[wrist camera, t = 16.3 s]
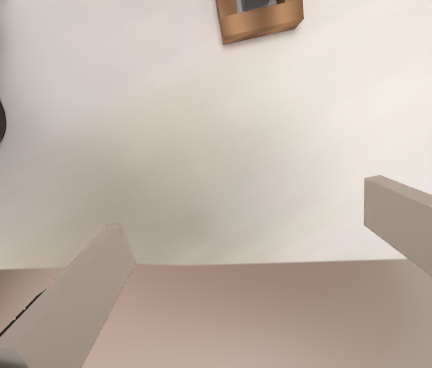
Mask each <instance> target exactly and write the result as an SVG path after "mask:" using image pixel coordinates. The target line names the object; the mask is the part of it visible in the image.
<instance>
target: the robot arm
mask: <svg viewBox="0 0 432 368" xmlns="http://www.w3.org/2000/svg"><path fill="white" fill-rule="evenodd" d="M4 132H5V115H4V111H3V108H2V105H1V103H0V141H1V139H2V137H3V135H4ZM364 225H365V226H366V227H367V228H369V229H370V230H371V231H372V232H374V233H375V234H376V235H378V236H379V237H380V238H382V239H383V240H384V241H386V242H387V243H388V244H390V245H391V246H392V247H393V248H395V249H396V250H397V251H399V252H400V253H401V254H403V255H404V256H405V257H407V258H408V259H409V260H411V261H412V262H413V263H414V264H416V265H417V266H418V267H420V268H421V269H422V270H424V271H425V272H426V273H428V274H429V275H430V276H432V195H430V194H427V193H425V192H422V191H420V190H417V189H414V188H412V187H409V186H407V185H404V184H401V183H399V182H396V181H394V180H391V179H388V178H386V177H383V176H381V175H379V176H373V177H368V178H365V185H364ZM135 265H136V263H135V260H134V257H133V255H132V252H131V249H130V247H129V244H128V241H127V239H126V236H125V233H124V231H123V228H122V225H121V223H118V224H112V225H107V226H106V227H105V228H104V229H103V230H102V231H101V233H100V234H99V235H98V236H97V237H96V238H95V239H94V240H93V241H92V242H91V243H90V244H89V245H88V246H87V247H86V248H85V249H84V250H83V251H82V252H81V253H80V254H79V255H78V257H77V258H76V259H75V260H74V261H73V262H72V263H71V264H70V265H69V266H68V267H67V268H66V269H65V270H64V271H63V272H62V274H60V275H59V276H58V277H57V279H55V281H54V282H53V283H52V284H51V285H50V286H49V287H48V288H47V289H45V290H44V291H43V292H41V293H40V294H39V295H37V296H36V297H35V298H34V299H33V301H32V302H31V303H30V304H29V305H28V306H27V307H26V309H25V310H23V311H22V312H21V313H20V314H19V315H18V316H17V317H16V319H15V320H13V321H12V322H11V323H10V324H9V325H8V326H7V327H6V328H5V329H4V330H3V331H2V332H1V333H0V368H82V366H83V364H84V362H85V360H86V358H87V356H88V354H89V353H90V351H91V349H92V347H93V345H94V343H95V341H96V339H97V337H98V336H99V334H100V331H101V330H102V328H103V326H104V324H105V322H106V320H107V318H108V316H109V315H110V313H111V310H112V309H113V307H114V305H115V303H116V301H117V299H118V297H119V296H120V294H121V292H122V290H123V288H124V286H125V284H126V282H127V280H128V278H129V276H130V274H131V273H132V271H133V269H134V267H135Z"/></svg>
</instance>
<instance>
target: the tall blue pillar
mask: <svg viewBox="0 0 432 368" xmlns="http://www.w3.org/2000/svg"><path fill="white" fill-rule="evenodd" d="M268 2H269V0H241V4H242V11H244V10H248V9H252V8H256V7H261V6H265V5H267V4H268Z"/></svg>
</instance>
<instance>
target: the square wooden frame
mask: <svg viewBox="0 0 432 368" xmlns="http://www.w3.org/2000/svg"><path fill="white" fill-rule="evenodd" d="M216 5H217V11H218V17H219V24H220V30H221V36H222V42H223V45H224V44H228V43H233V42H237V41H242V40H246V39H251V38H255V37H260V36H264V35H269V34H273V33H278V32H282V31H286V30H291V29H295V28H296V27H297V25H298V24H299V23H300V22H301V21H302V20H303V19H304V15H303V0H277V5H273V6H268V7H264V8H260V9H255V10H251V11H247V12H242V13H238V14H237V7H236V0H216Z"/></svg>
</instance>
